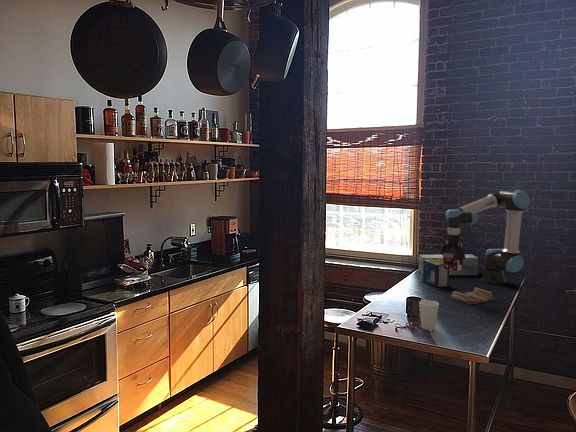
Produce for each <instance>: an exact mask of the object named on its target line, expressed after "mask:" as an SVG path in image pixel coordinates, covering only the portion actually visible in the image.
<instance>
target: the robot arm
mask: <svg viewBox="0 0 576 432" xmlns="http://www.w3.org/2000/svg"><path fill="white" fill-rule="evenodd" d="M529 205H530V196H529V194H528V193H527V191H524V190H522V189H521V190H520V189H511V188H510V189H509V188H504V189H500V190H497V191H493V192H492V193H489V194H487V196H485V197H482V198H480V199H478V200H475V201H473V202H471V203H468V204H466V205H463V206H460V207H458V208H456V209H455V208H453V209H451V208H450V209H448V210H446V211H445V219H446V220H447V234H446V235H447V237H446V240H443V246H442V249H441V252H440V255H443V253H444V252H447V253H450V251H451V249H452V250H454V251H455V254H457V256H458V258H459V259H458V268H457V270H462V262H463V259H465V254H466V253H465V250H464V243H460V239H461V235H460V234H461V225H471V224H475V223H476V222H477V221H478V213H480V212H483V211H485V210H488V209H490V208H497V207H505V208H504V210H505V211H506V223H505V224H506V225H505V233H504V245H503V248H488V249H486V251H485V262H484V263H485V265H484V267H485V268H484V271H483V273H482V276H481V281H482V282H484V283H487V284H493V285H503V284H506V278H505V273H504V271H506V272H508V273H517V272H519V271H520V270H521V269H522V268H523V266H524V263H525V262H524V258H523V257H522V256H521V251H520V250H519V246H520V236H521V235H520V233H521V223H522V215H523V213H525V209H527V208H528V206H529ZM443 261H444V257H443Z"/></svg>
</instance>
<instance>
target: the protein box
mask: <svg viewBox="0 0 576 432" xmlns="http://www.w3.org/2000/svg"><path fill="white" fill-rule="evenodd" d="M422 283H425V284H427V285H429V286H432V287H435V288H442V287H449V286H450V275H449V269H445V268H444V265H443V261H440V260H437V259H432V260H424V266H423V275H422Z"/></svg>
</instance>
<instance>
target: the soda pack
mask: <svg viewBox="0 0 576 432" xmlns="http://www.w3.org/2000/svg"><path fill="white" fill-rule="evenodd" d="M464 254H465V259H463V267H462V270H456V271H455V270H453V269H452V267H451V268H449V276H478V274H479V273H478V271H479V270H478V269H479V267H478V266H479V257H478V256H475V255H474V254H471V253H470V254H466V253H464ZM418 256H419V257H418V272H419V273H420V274H421V275H422V276H423V266H424V260H432V259H437V260H440V261H443V255H441V254H419V255H418ZM455 259H456V258H455ZM455 259H454V260H455ZM453 264H454V262H453Z"/></svg>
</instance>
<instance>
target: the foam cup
mask: <svg viewBox="0 0 576 432" xmlns="http://www.w3.org/2000/svg"><path fill="white" fill-rule="evenodd" d="M418 303H419V304H418V307H419V315H420V316H419V317H420V324H421V329H422V330H426V331H434V330H435V327H436V321H437V316H438V310H439V308H440V307H439V306H440V303H439V302H438V301H435V300H432V299H431V300H429V299H425V300H424V299H423V300H420V301H419V302H418Z"/></svg>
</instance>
